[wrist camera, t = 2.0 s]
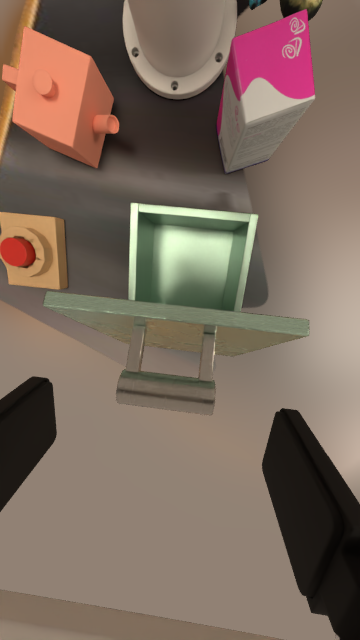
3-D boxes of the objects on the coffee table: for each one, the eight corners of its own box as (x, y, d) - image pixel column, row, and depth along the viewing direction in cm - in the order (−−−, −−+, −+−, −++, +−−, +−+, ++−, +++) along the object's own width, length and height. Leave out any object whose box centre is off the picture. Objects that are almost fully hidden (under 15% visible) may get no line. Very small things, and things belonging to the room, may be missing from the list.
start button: (8, 237, 30) (-3, 236, 28) (34, 239, 29) (24, 238, 28) (12, 264, 31) (1, 265, 29) (37, 267, 31) (27, 267, 29)
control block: (11, 214, 32) (-14, 209, 28) (64, 219, 32) (46, 214, 28) (20, 282, 35) (-2, 285, 31) (68, 287, 35) (52, 291, 31)
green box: (150, 217, 31) (130, 202, 22) (239, 226, 30) (258, 214, 21) (145, 316, 35) (127, 338, 26) (223, 325, 35) (233, 351, 25)
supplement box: (270, 160, 28) (317, 100, 17) (224, 175, 29) (241, 127, 18) (262, 106, 26) (309, 2, 15) (214, 124, 27) (226, 37, 16)
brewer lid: (45, 290, 11) (15, 400, 9) (310, 319, 10) (311, 439, 9) (126, 336, 26) (118, 381, 24) (234, 349, 25) (231, 395, 24)
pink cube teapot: (122, 181, 30) (96, 155, 22) (39, 145, 29) (-19, 105, 21) (141, 115, 28) (118, 59, 20) (50, 74, 27) (-10, 0, 19)
